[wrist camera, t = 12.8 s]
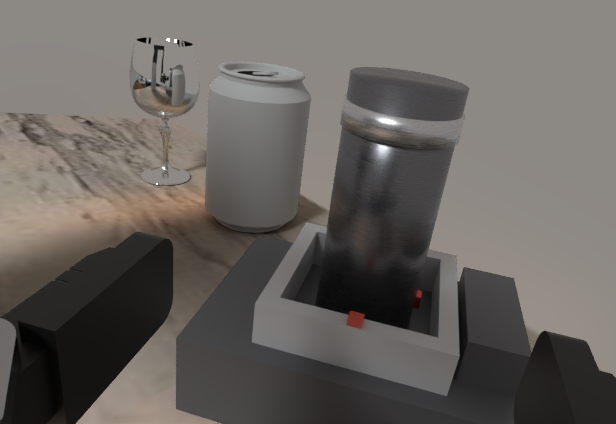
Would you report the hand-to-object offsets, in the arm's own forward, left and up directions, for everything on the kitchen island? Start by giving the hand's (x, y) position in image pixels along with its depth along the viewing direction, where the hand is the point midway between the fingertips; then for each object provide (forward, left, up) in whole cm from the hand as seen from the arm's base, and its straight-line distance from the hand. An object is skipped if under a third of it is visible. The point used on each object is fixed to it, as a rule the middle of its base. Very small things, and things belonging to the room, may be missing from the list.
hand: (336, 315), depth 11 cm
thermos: (0, +11, -7) cm, 13 cm away
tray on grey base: (0, +11, -11) cm, 16 cm away
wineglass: (-21, +30, -12) cm, 38 cm away
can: (-11, +26, -12) cm, 31 cm away
